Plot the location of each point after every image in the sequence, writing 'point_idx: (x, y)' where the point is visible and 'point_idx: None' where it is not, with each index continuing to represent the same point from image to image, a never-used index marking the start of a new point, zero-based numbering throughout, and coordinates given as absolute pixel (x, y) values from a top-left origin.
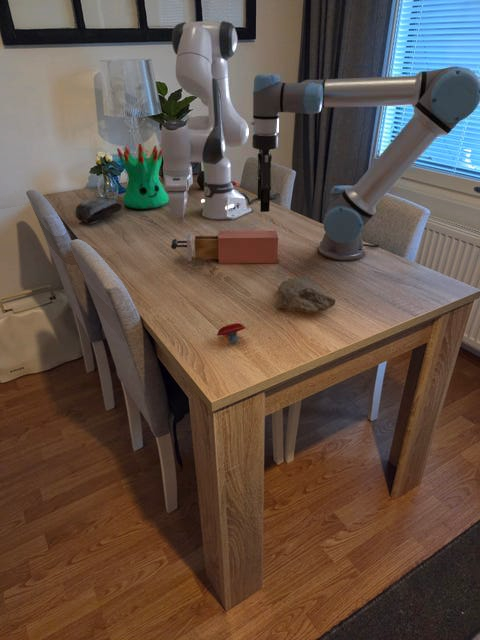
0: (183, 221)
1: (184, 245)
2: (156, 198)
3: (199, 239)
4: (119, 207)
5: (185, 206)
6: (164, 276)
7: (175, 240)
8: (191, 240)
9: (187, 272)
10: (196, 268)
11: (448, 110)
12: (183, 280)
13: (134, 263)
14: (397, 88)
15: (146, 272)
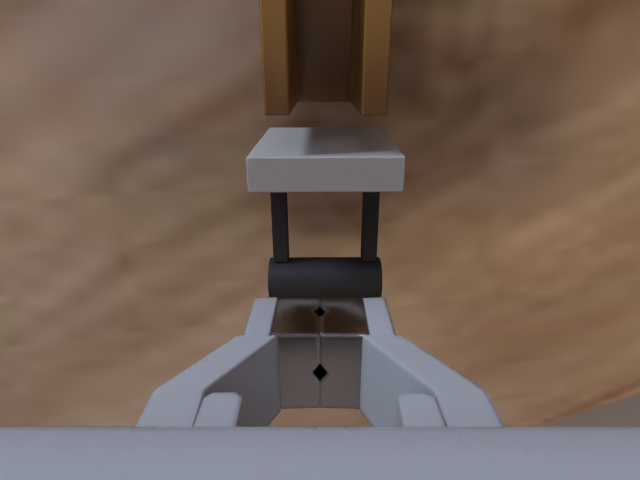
0: (383, 300)
1: (378, 200)
2: None
3: (374, 60)
4: None
5: (427, 453)
6: (541, 269)
7: (297, 281)
8: (274, 147)
9: (513, 143)
10: (462, 86)
11: None
12: (621, 160)
13: (356, 421)
14: None
15: (473, 358)
